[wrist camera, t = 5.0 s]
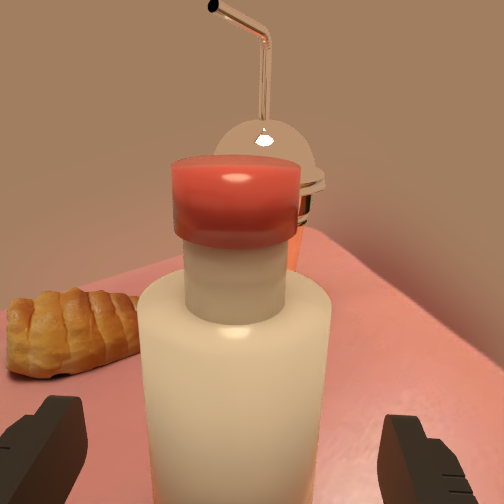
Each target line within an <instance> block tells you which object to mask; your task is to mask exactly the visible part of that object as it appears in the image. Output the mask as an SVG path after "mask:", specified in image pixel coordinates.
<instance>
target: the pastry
mask: <svg viewBox="0 0 504 504" xmlns="http://www.w3.org/2000/svg"><path fill="white" fill-rule="evenodd" d="M139 298H140V297H137V296H130V297H129V296H127V295H126V294H124V293H107V292H105V291H103V290H99V291H95V292H84V291H82V290H80V289H79V288H72V289H70V290H69V291H68V292H66V293H59V292H53V291H45V292H43V293H41V294H40V296H39V297H38V298H37V299H35V300H31V299H23V298H18V299H14V300H12V302H11V303H10V306H9V309H8V311H7V320H8V325H7V349H6V350H7V362H6V368H7V369H8V370H10V371H12V372H15V373H19V374H23V375H26V376H29V377H31V378H49V379H50V378H51V377H52V376H53V375H56V374H60V373H69V374H76V373H80V372H84V371H89V370H92V369H93V368H95V367H98V366H103V365H107V364H109V363H112V362H115V361H117V360H120V359H123V358H126V357H129V356H131V355H134V354H137V353H139V352H141V351H140V339H139V328H138V316H137V304H138V300H139Z"/></svg>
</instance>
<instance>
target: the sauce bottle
mask: <svg viewBox="0 0 504 504" xmlns="http://www.w3.org/2000/svg"><path fill="white" fill-rule="evenodd" d="M171 178H172V197H173V198H172V199H173V220H174V231H175V233H176V234H177V235H178V236H179V237H180V238H182V239H183V260H184V268H183V269H180V270H177V271H174V272H172V273H169V274H167V275H165V276H163V277H161V278H159V279H158V280H156V281H155V282H153V283H152V284H151V285H149V286H148V287H147V288H146V289H145V290H144V291H143V293H142V294H141V296H140V298H139V300H138V304H137V316H138V328H139V339H140V351H141V362H142V374H143V386H144V397H145V409H146V421H147V432H148V444H149V455H150V467H151V479H152V490H153V502H154V504H312V499H313V489H314V479H315V469H316V459H317V449H318V440H319V430H320V420H321V410H322V400H323V390H324V381H325V371H326V361H327V351H328V341H329V331H330V321H331V311H332V306H331V301H330V299H329V297H328V295H327V294H326V292H325V291H324V290H323V289H322V288H321V287H320V286H319V285H318V284H316V283H315V282H314V281H312V280H311V279H309V278H307V277H305V276H303V275H301V274H299V273H297V272H294V271H291V270H288V269H287V256H288V240H289V239H291V238H292V237H294V236H295V234H296V233H297V227H298V211H299V195H300V179H301V166H300V165H299V164H297V163H295V162H292V161H289V160H285V159H280V158H274V157H267V156H257V155H233V154H229V155H207V156H197V157H190V158H185V159H181V160H178V161H176V162H174V163H172V165H171Z"/></svg>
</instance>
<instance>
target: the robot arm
mask: <svg viewBox="0 0 504 504" xmlns="http://www.w3.org/2000/svg"><path fill="white" fill-rule="evenodd" d="M87 449H88V439H87V432H86V426H85V419H84V413H83V406H82V401H81V399H80V398H79V397H74V396H55V395H50V396H48V397H47V398H46V399H45V400H44V402H43V403H42V405H41V406H40V407H39V409H38V410H37V412H36V413H35V414H34V415H24V416H23V417H22V418H20V419H19V420H18V421H17V422H15V423H14V424H13V425H11V426H10V427H9V428H7V429H6V430H5V432H4V433H3V434H2V436H1V437H0V504H64V503H65V501H66V499H67V497H68V495H69V493H70V491H71V489H72V487H73V485H74V483H75V481H76V479H77V477H78V475H79V473H80V471H81V469H82V467H83V465H84V462H85V459H86V455H87ZM377 474H378V482H379V487H380V491H381V495H382V499H383V503H384V504H478V502H477V500H476V497H475V496H473V491H472V489H471V487H470V485H469V483H468V480H467V479H465V474H464V472H463V470H462V468H461V466H460V463H459V461H458V459H457V457H456V456H455V454H454V453H453V452H452V451H451V450H450V449H449V448H448V447H447V446H446V445H445V444H444V443H443V442H442V441H441V440H440V439H432V438H427V437H426V435H425V432H424V430H423V427H422V425H421V423H420V420H419V419H418V417H417V416H407V415H389V414H387V415H386V416H385V419H384V424H383V430H382V436H381V441H380V447H379V453H378V459H377Z"/></svg>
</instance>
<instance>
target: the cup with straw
mask: <svg viewBox="0 0 504 504" xmlns="http://www.w3.org/2000/svg"><path fill="white" fill-rule="evenodd" d="M208 10H209V11H210V12H211V13H213V14H215V15H217V16H219V17H220V18H222V19H224V20H226V21H228V22H230V23H232V24H234V25H236V26H238V27H240V28H242V29H244V30H246V31H248V32H250V33H252V34H253V35H255V36H257V37H258V39H259V41H260V48H261V51H260V90H259V120H251V121H246V122H243V123H241V124H239V125H238V126H235V127H234V128H233V129H231V130H230V131H229V132H227V133H226V134H225V136H224V137H223V138H222V139H221V141H220V142H219V144H218V146H217V148H216V150H215V153H214V155H229V154H233V155H257V156H267V157H274V158H280V159H285V160H289V161H292V162H295V163H297V164H299V165H300V166H301V179H300V195H299V211H298V227H297V233H296V234H295V236H294V237H292V238H291V239H289V240H288V256H287V269H288V270H291V271H294V272H296V267H297V262H298V256H299V251H300V246H301V240H302V235H303V230H304V225H305V224H306V223H307V219H308V214H309V212H310V210H311V205H312V199H313V194H314V193H317V192H319V191H322V190H323V189H324V188H325V187H326V183H325V180H324V175H325V174H324V172H323V171H322V170H320V169H319V168H317V167H315V160H314V157H313V154H312V151H311V149H310V147H309V145H308V143H307V141H306V140H305V139H304V137H303V136H302V135H301V134H300V133H299V132H298V131H296V130H295V129H294V128H292V127H291V126H289V125H287V124H286V123H283V122H279V121H276V120H269V114H270V86H271V57H272V43H271V38H270V34H269V32H268V30H267V28H266V27H265V26H264V25H262V24H260V23H258V22H257V21H255V20H253V19H251V18H250V17H248V16H246V15H244V14H242V13H241V12H239V11H237V10H236V9H234V8H232V7H230V6H228V5H227V4H225V3H223V2H222V1H219V0H210V2H209V3H208Z"/></svg>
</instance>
